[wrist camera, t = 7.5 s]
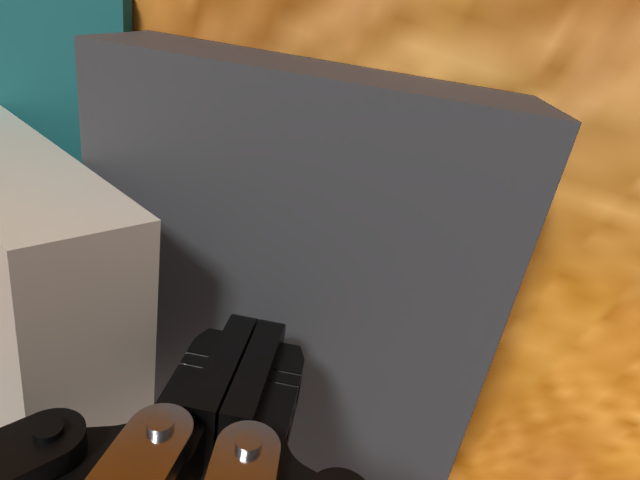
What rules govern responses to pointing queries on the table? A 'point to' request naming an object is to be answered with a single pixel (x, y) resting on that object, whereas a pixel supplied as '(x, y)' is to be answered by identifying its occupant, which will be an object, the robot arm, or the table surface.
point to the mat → (51, 60)
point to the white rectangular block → (72, 286)
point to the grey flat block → (330, 225)
